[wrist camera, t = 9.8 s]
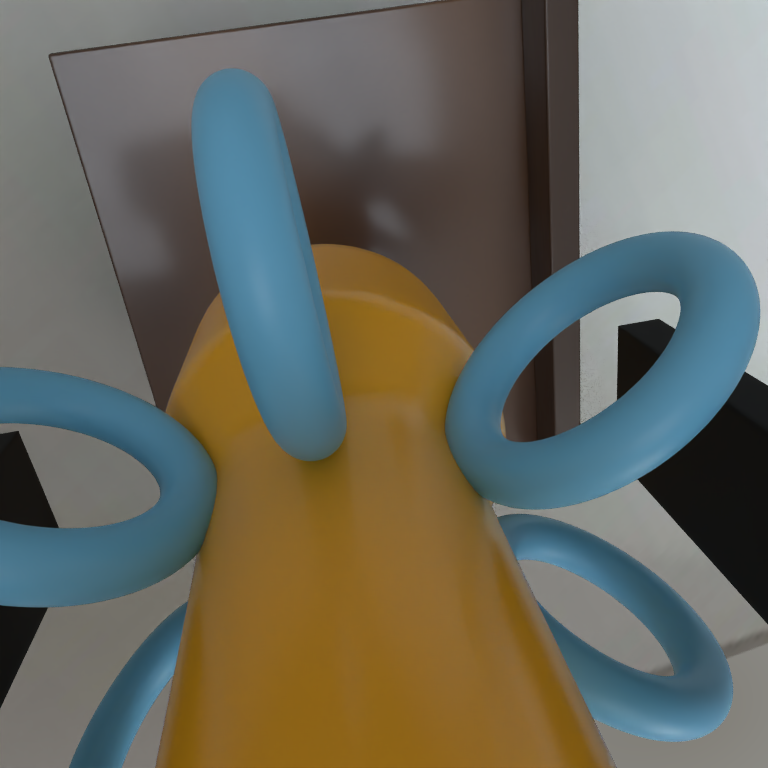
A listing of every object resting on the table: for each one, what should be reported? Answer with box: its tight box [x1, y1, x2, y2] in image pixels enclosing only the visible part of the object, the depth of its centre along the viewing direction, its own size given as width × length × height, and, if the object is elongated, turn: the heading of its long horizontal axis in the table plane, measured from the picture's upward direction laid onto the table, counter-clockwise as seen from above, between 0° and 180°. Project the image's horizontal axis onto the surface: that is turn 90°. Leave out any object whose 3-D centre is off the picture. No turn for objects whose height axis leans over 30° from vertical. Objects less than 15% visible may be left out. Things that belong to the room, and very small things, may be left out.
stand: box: [49, 0, 580, 442], centre depth 27 cm, size 15×17×13 cm
